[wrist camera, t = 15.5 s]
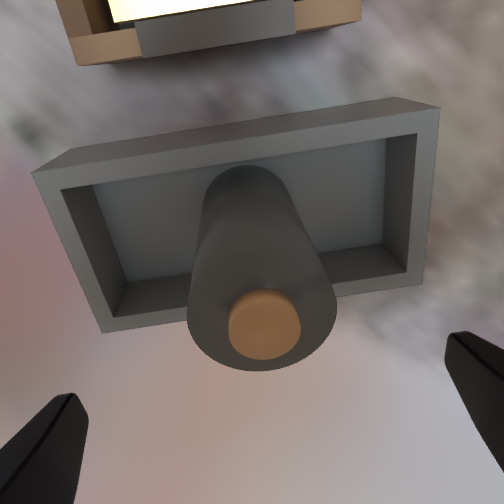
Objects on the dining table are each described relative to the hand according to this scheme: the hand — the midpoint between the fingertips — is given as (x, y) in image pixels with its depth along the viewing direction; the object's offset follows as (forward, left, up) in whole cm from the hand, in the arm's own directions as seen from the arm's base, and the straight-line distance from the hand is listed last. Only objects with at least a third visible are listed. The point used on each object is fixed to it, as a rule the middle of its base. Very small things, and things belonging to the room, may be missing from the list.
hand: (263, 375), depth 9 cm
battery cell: (0, 0, -11) cm, 11 cm away
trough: (0, 0, -12) cm, 12 cm away
